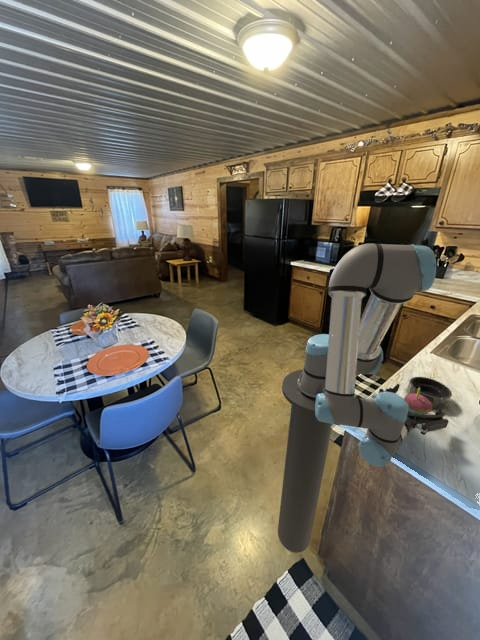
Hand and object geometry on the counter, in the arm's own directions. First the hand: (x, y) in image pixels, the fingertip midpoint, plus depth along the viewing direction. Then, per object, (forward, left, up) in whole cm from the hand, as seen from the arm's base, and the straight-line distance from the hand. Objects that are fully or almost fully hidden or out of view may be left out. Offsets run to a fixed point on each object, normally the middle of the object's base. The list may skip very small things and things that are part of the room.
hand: (418, 396), depth 91 cm
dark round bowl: (0, +14, -8) cm, 16 cm away
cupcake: (0, +1, -8) cm, 8 cm away
